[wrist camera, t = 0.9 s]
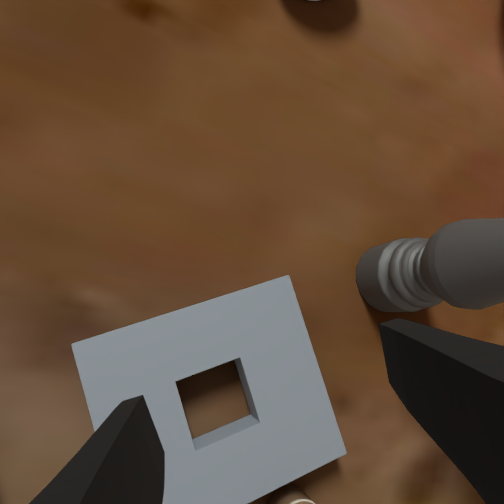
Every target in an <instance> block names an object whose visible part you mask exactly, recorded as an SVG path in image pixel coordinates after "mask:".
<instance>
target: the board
mask: <svg viewBox="0 0 504 504" xmlns="http://www.w3.org/2000/svg"><path fill="white" fill-rule="evenodd" d="M71 345H72V349H73V353H74V356H75V360H76V364H77V367H78V371H79V375H80V379H81V382H82V386H83V390H84V393H85V397H86V401H87V405H88V408H89V412H90V416H91V419H92V423H93V427H94V431H96V430H97V429H98V428H99V427H100V425H101V424H102V423H103V422H104V421H105V420H106V418H107V417H108V416H109V415H110V414H111V412H112V411H113V410H114V409H115V408H116V407H117V406H118V405H119V404H120V403H121V402H122V401H124V400H127V399H131V398H134V397H137V396H141V395H143V396H144V399H145V401H146V404H147V407H148V409H149V412H150V415H151V417H152V420H153V423H154V425H155V428H156V431H157V433H158V436H159V439H160V441H161V444H162V446H163V449H164V452H165V483H164V495H163V503H162V504H248V503H250V502H252V501H254V500H256V499H258V498H260V497H262V496H264V495H266V494H268V493H269V492H271V491H273V490H275V489H277V488H279V487H281V486H283V485H285V484H287V483H289V482H291V481H293V480H295V479H297V478H299V477H301V476H303V475H305V474H307V473H309V472H311V471H313V470H315V469H317V468H319V467H321V466H323V465H325V464H327V463H329V462H331V461H333V460H335V459H337V458H339V457H341V456H343V455H345V454H347V452H346V449H345V446H344V443H343V440H342V437H341V434H340V431H339V428H338V425H337V422H336V419H335V415H334V412H333V409H332V406H331V403H330V400H329V397H328V394H327V391H326V388H325V385H324V382H323V378H322V375H321V372H320V369H319V366H318V363H317V360H316V357H315V354H314V351H313V348H312V345H311V341H310V338H309V335H308V332H307V329H306V326H305V323H304V320H303V317H302V314H301V311H300V308H299V304H298V301H297V298H296V295H295V292H294V289H293V286H292V283H291V280H290V277H289V275H287V276H283V277H280V278H277V279H274V280H271V281H267V282H264V283H261V284H258V285H255V286H252V287H249V288H245V289H242V290H239V291H236V292H233V293H230V294H227V295H223V296H220V297H217V298H214V299H211V300H208V301H205V302H201V303H198V304H195V305H192V306H189V307H186V308H183V309H179V310H176V311H173V312H170V313H167V314H164V315H161V316H157V317H154V318H151V319H148V320H145V321H142V322H139V323H135V324H132V325H129V326H126V327H123V328H120V329H117V330H113V331H110V332H107V333H104V334H101V335H98V336H95V337H91V338H88V339H85V340H82V341H79V342H76V343H73V344H71ZM231 360H235V364H236V367H237V370H238V374H239V377H240V380H241V383H242V387H243V390H244V393H245V397H246V400H247V403H248V406H249V410H250V413H251V414H250V415H248V416H246V417H243V418H241V419H239V420H236V421H234V422H232V423H229V424H227V425H225V426H222V427H220V428H218V429H215V430H213V431H211V432H208V433H206V434H204V435H201V436H199V437H197V438H195V439H192V437H191V434H190V430H189V427H188V424H187V420H186V417H185V413H184V410H183V406H182V403H181V399H180V396H179V393H178V389H177V386H176V382H175V381H178V380H181V379H183V378H186V377H189V376H191V375H194V374H197V373H199V372H202V371H205V370H207V369H210V368H213V367H215V366H218V365H221V364H223V363H226V362H229V361H231Z"/></svg>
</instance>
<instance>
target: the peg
mask: <svg viewBox="0 0 504 504" xmlns="http://www.w3.org/2000/svg"><path fill="white" fill-rule="evenodd" d="M268 504H315V503H314V502H313V501H312V500H311V499H310V498H309V497H308V496H307V495H306V494H305V493H304V491H303V490H302V489H300V488H299V487H297V486H295V485H284V486H282V487H280V488H278V489H277V490H276V491H275V492H274V493H273V494H272V496H271V497H270V499H269V502H268Z"/></svg>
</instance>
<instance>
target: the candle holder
mask: <svg viewBox="0 0 504 504" xmlns="http://www.w3.org/2000/svg"><path fill="white" fill-rule="evenodd" d="M356 282H357V285H358V288H359V292H360V294H361V295H362V297H363V298H364V299H365V301H366V302H367V303H368V305H370V306H372V307H373V308H375V309H377V310H378V311H383V312H416V311H419V310H421V309H424V308H429V307H432V306H435V305H438V304H440V303H441V302H442V301H443V300H444V301H446V302H447V303H449V304H450V305H452V306H455V307H458V308H465V309H473V310H474V309H483V308H486V307H490V306H493V305H496V304H499V303H502V302H504V218H492V219H464V220H460V221H457V222H453V223H450V224H447V225H444V226H443V227H441V228H440V229H439V230H438V231H437V232H436V233H435V234H434V235H432V236H431V237H430V238H429V239H424V238H419V237H415V238H411V239H407V238H402V239H398V240H395V241H391V242H388V243H385V244H382V245H379V246H376V247H372V248H370V249H369V250H368V251H367V252H366V253H364V254H363V255H362V256H361V259H360V261H359V263H358V265H357V270H356Z"/></svg>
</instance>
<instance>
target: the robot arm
mask: <svg viewBox="0 0 504 504" xmlns="http://www.w3.org/2000/svg"><path fill="white" fill-rule="evenodd" d="M379 329H380V335H381V340H382V346H383V351H384V356H385V362H386V367H387V373H388V378H389V383H390V384H391V386H392V387H393V389H394V390H395V392H396V394H397V395H398V397H399V398H400V400H401V401H402V403H403V404H404V405H405V407H406V408H407V410H408V411H409V412H410V413H411V415H412V416H413V417H414V418H415V419H416V421H417V422H418V423H419V424H420V425H421V426H422V427H423V429H424V430H425V431H426V432H427V433H428V434H429V436H430V437H431V438H432V439H433V440H434V441H435V442H436V444H437V445H438V446H439V447H440V448H441V449H442V450H443V452H444V453H445V454H446V455H447V456H448V457H449V458H450V459H451V461H452V462H453V463H454V464H455V465H456V466H457V467H458V469H459V470H460V471H461V472H462V473H463V474H464V476H465V477H466V478H467V479H468V480H469V482H470V483H471V484H472V485H473V487H474V488H475V489H476V490H477V492H478V493H479V494H480V496H481V497H482V499H483V500H484V501H485V503H486V504H504V346H501V345H497V344H493V343H489V342H484V341H480V340H476V339H472V338H468V337H465V336H461V335H457V334H454V333H450V332H447V331H443V330H440V329H437V328H433V327H430V326H426V325H423V324H420V323H416V322H413V321H409V320H405V319H400V318H396V319H393V320H390V321H386V322H383V323H380V324H379ZM164 483H165V452H164V449H163V446H162V444H161V441H160V439H159V436H158V433H157V431H156V428H155V425H154V423H153V420H152V417H151V415H150V412H149V409H148V407H147V404H146V401H145V399H144V396H143V395H141V396H137V397H134V398H131V399H127V400H124V401H122V402H121V403H120V404H119V405H118V406H117V407H116V408H115V409H114V410H113V411H112V412H111V414H110V415H109V416H108V417H107V418H106V420H105V421H104V422H103V423H102V424H101V425H100V427H99V428H98V429H97V430H96V431H95V433H94V434H93V435H92V436H91V437H90V438H89V440H88V441H87V442H86V443H85V444H84V446H83V447H82V448H81V449H80V450H79V451H78V453H77V454H76V455H75V456H74V457H73V458H72V459H71V460H70V461H69V462H68V464H67V465H66V466H65V467H64V468H63V469H62V470H61V471H60V472H59V473H58V474H57V476H56V477H55V478H54V479H53V480H52V481H51V482H50V483H49V484H48V485H47V486H46V487H45V488H44V489H43V490H42V491H41V492H40V493H39V494H38V495H37V496H36V497H35V498H34V499H33V500H32V501H31V502H30V503H29V504H162V503H163V495H164Z"/></svg>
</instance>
